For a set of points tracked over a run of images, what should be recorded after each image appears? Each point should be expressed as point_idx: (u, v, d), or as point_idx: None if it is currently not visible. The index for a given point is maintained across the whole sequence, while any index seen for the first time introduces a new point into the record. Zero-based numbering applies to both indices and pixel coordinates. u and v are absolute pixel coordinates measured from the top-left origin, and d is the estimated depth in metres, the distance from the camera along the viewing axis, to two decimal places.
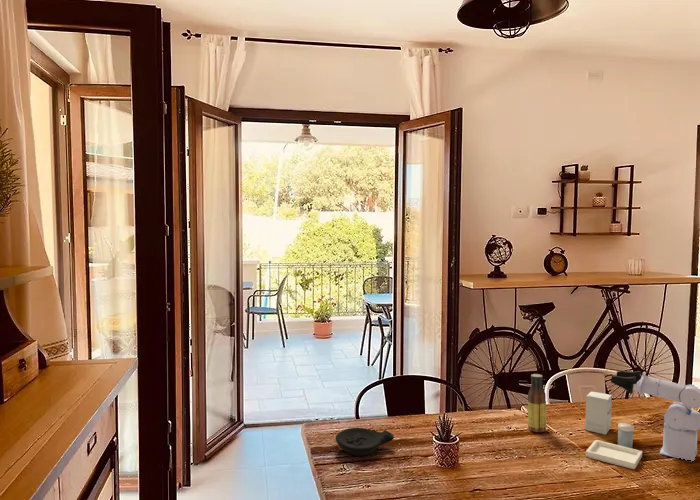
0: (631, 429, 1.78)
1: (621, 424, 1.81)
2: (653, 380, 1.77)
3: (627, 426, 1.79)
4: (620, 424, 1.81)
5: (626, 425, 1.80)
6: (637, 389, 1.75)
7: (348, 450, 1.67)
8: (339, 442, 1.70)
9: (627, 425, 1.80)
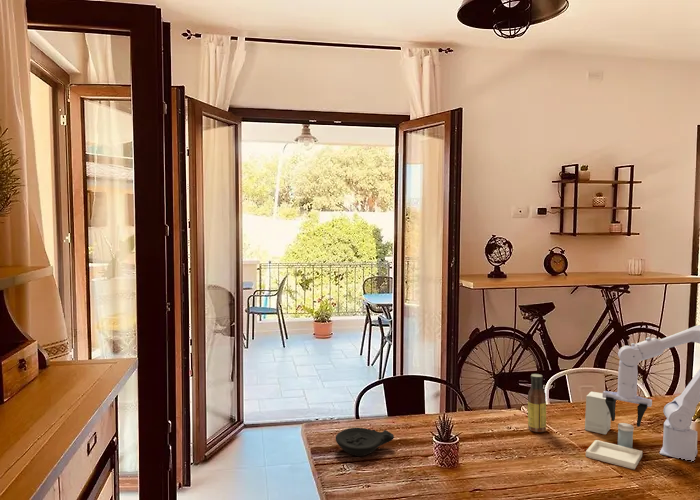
0: (631, 429, 1.78)
1: (621, 424, 1.81)
2: (631, 390, 1.76)
3: (627, 426, 1.79)
4: (620, 424, 1.81)
5: (626, 425, 1.80)
6: (651, 402, 1.75)
7: (348, 450, 1.67)
8: (339, 442, 1.70)
9: (627, 425, 1.80)
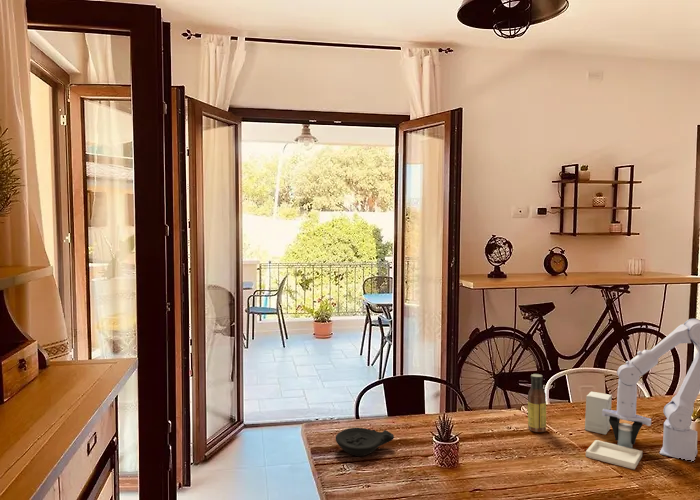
0: (631, 429, 1.78)
1: (621, 424, 1.81)
2: (630, 409, 1.77)
3: (627, 426, 1.79)
4: (620, 424, 1.81)
5: (626, 425, 1.80)
6: (650, 421, 1.75)
7: (348, 450, 1.67)
8: (339, 442, 1.70)
9: (627, 424, 1.80)
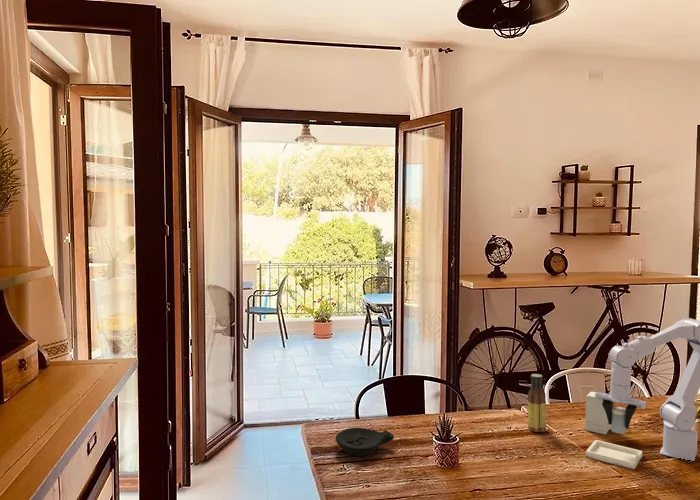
0: (625, 412, 1.72)
1: (615, 407, 1.75)
2: (624, 392, 1.71)
3: (621, 409, 1.73)
4: (614, 407, 1.75)
5: (620, 408, 1.74)
6: (645, 404, 1.70)
7: (348, 450, 1.67)
8: (339, 442, 1.70)
9: (620, 408, 1.75)
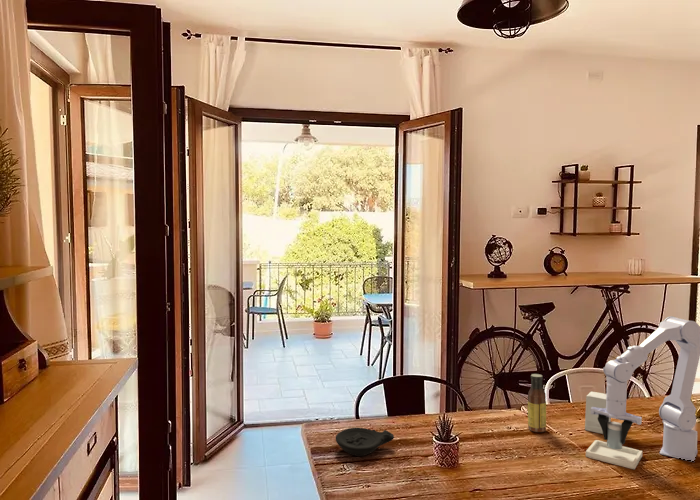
0: (621, 428, 1.69)
1: (611, 422, 1.73)
2: (620, 407, 1.68)
3: (617, 425, 1.71)
4: (609, 423, 1.72)
5: (616, 424, 1.72)
6: (641, 419, 1.67)
7: (348, 450, 1.67)
8: (339, 442, 1.70)
9: (616, 423, 1.72)
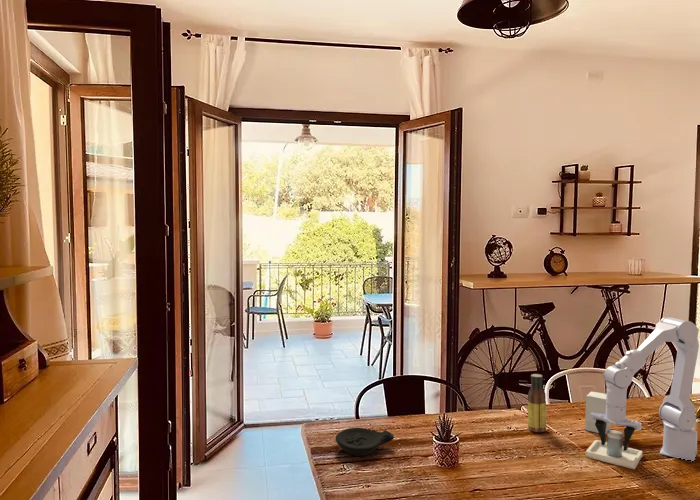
0: (620, 436, 1.70)
1: (610, 431, 1.73)
2: (619, 413, 1.68)
3: (616, 433, 1.71)
4: (609, 431, 1.73)
5: (616, 432, 1.72)
6: (641, 425, 1.67)
7: (348, 450, 1.67)
8: (339, 442, 1.70)
9: (616, 432, 1.72)
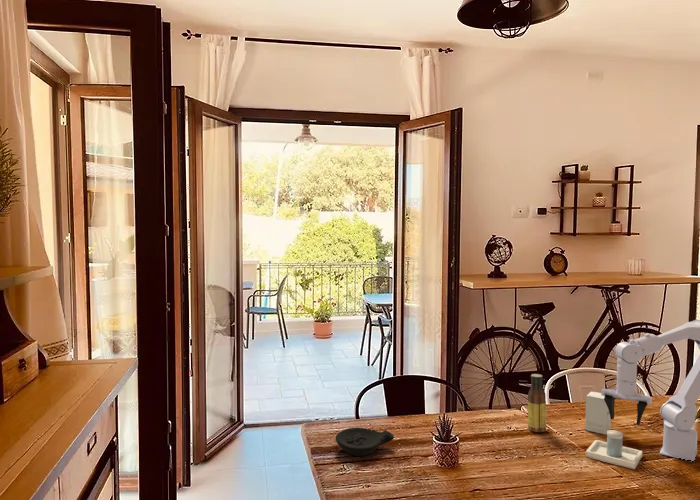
0: (620, 436, 1.70)
1: (610, 431, 1.73)
2: (630, 387, 1.72)
3: (616, 433, 1.71)
4: (609, 431, 1.73)
5: (616, 432, 1.72)
6: (651, 399, 1.71)
7: (348, 450, 1.67)
8: (339, 442, 1.70)
9: (616, 432, 1.72)
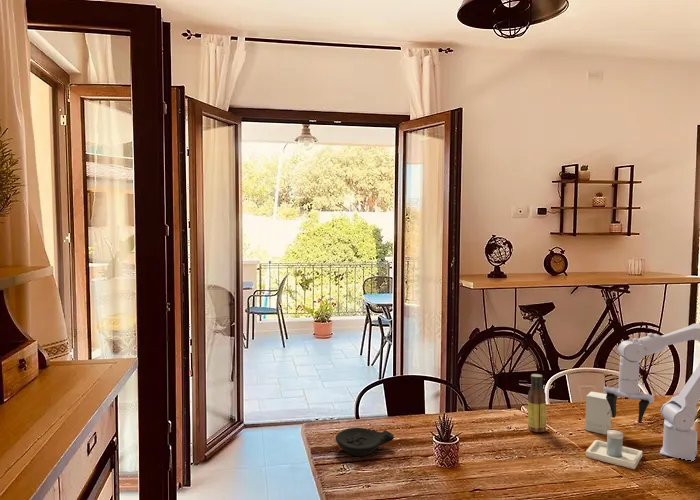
0: (621, 436, 1.70)
1: (610, 431, 1.73)
2: (632, 386, 1.73)
3: (616, 433, 1.71)
4: (609, 431, 1.73)
5: (616, 432, 1.72)
6: (653, 398, 1.72)
7: (348, 450, 1.67)
8: (339, 442, 1.70)
9: (616, 432, 1.72)
